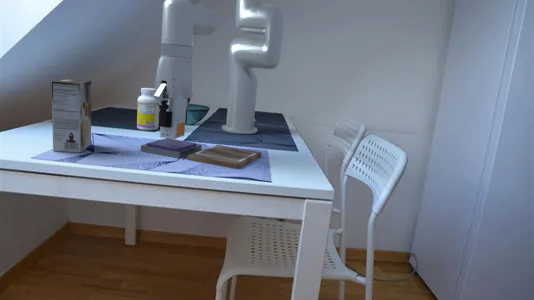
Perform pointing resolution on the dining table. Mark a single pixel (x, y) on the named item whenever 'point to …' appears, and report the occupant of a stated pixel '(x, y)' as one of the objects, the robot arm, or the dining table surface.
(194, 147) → the ink pad
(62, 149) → the coffee box
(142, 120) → the supplement bottle
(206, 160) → the wooden tray
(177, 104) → the skincare box
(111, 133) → the dining table surface
